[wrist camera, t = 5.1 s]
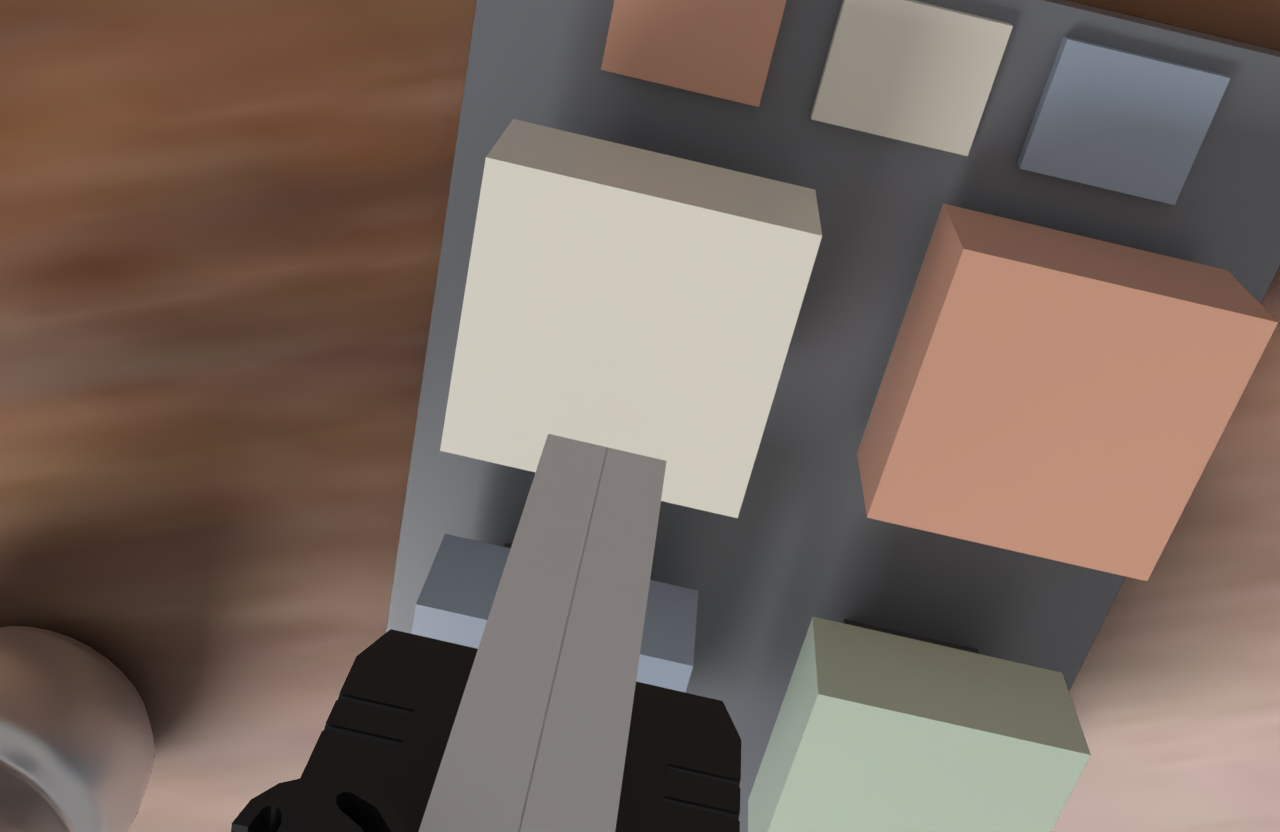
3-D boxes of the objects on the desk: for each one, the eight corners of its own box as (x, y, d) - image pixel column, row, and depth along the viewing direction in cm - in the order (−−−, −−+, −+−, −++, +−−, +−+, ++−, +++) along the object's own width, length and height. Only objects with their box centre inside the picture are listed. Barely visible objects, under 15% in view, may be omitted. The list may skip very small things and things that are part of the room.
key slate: (413, 726, 28) (384, 806, 26) (444, 533, 26) (415, 603, 24) (643, 777, 28) (634, 861, 26) (698, 591, 26) (693, 666, 24)
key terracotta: (857, 453, 25) (866, 517, 23) (943, 203, 23) (963, 248, 20) (1113, 511, 25) (1147, 581, 23) (1227, 270, 23) (1277, 322, 21)
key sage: (748, 800, 28) (747, 886, 26) (812, 616, 26) (818, 694, 24) (975, 850, 29) (993, 939, 26) (1061, 672, 26) (1090, 754, 24)
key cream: (468, 389, 24) (440, 450, 22) (513, 119, 22) (485, 157, 19) (739, 451, 24) (737, 518, 22) (815, 189, 22) (822, 235, 19)
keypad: (375, 748, 32) (342, 834, 30) (505, -135, 22) (472, -124, 20) (957, 876, 33) (974, 972, 30) (1346, 67, 23) (1426, 105, 20)
